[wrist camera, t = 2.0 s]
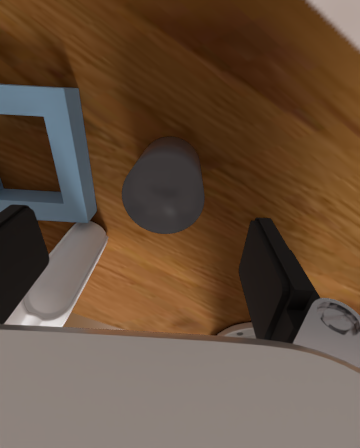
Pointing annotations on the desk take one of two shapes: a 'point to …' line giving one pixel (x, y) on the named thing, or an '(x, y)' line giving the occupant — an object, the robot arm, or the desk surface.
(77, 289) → the photo printer
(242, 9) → the desk surface
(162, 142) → the dark grey cylinder
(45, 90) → the collar
